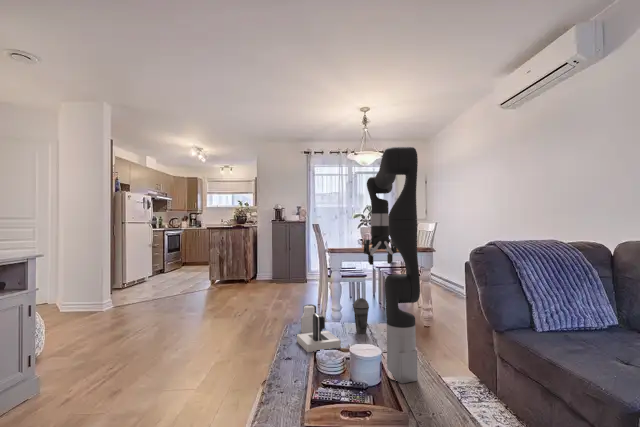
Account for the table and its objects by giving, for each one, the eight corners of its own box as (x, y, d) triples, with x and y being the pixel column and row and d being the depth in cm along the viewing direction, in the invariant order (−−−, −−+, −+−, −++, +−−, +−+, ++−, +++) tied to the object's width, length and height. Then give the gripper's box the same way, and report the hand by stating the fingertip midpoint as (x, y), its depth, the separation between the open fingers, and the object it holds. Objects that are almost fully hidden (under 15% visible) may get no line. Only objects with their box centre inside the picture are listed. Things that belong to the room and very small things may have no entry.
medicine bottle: (303, 328, 176) (303, 303, 177) (318, 329, 175) (318, 303, 176) (300, 333, 169) (300, 306, 170) (316, 333, 168) (316, 307, 169)
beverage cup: (370, 335, 166) (369, 290, 166) (353, 335, 166) (353, 290, 166) (368, 330, 173) (368, 287, 173) (352, 330, 173) (352, 287, 174)
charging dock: (340, 347, 149) (340, 340, 150) (307, 352, 144) (307, 344, 145) (327, 337, 163) (327, 330, 163) (296, 341, 158) (296, 334, 158)
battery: (325, 344, 151) (325, 316, 151) (316, 345, 150) (316, 316, 150) (321, 339, 157) (321, 312, 158) (312, 340, 156) (312, 312, 157)
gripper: (390, 224, 160) (390, 262, 159) (360, 224, 155) (360, 264, 154) (399, 224, 153) (400, 264, 152) (369, 225, 148) (369, 266, 147)
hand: (380, 264), depth 153 cm, fingers open, 8 cm apart
